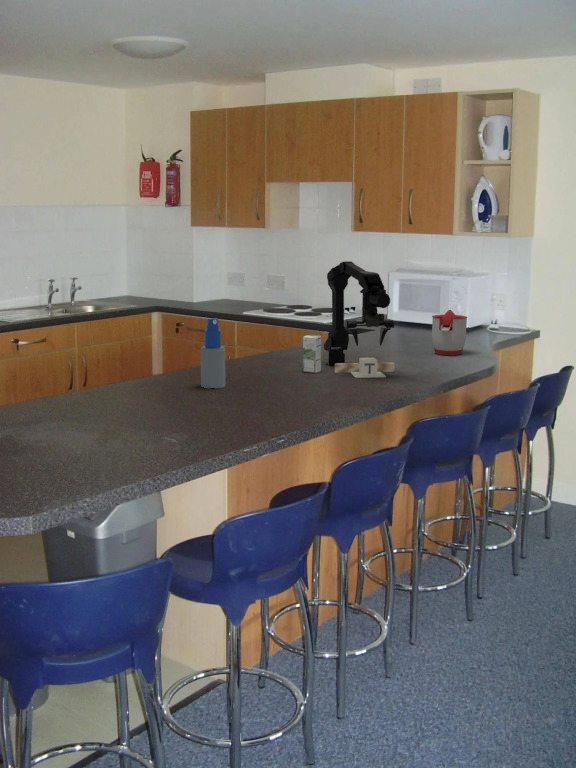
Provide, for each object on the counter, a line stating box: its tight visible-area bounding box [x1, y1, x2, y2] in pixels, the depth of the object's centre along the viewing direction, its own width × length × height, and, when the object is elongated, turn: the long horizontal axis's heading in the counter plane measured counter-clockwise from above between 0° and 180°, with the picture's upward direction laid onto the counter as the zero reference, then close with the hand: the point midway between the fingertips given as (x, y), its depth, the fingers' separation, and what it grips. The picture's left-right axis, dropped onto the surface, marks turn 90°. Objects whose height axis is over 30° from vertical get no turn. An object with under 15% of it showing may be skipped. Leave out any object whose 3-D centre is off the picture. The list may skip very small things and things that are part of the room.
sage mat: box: [350, 372, 387, 379], centre depth 344 cm, size 12×10×1 cm
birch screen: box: [334, 362, 396, 374], centre depth 351 cm, size 24×2×4 cm, turn 96°
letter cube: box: [358, 357, 378, 376], centre depth 343 cm, size 6×6×6 cm
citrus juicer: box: [431, 309, 468, 357], centre depth 393 cm, size 16×17×20 cm
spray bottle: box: [200, 317, 226, 389], centre depth 319 cm, size 9×9×25 cm
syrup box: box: [302, 334, 322, 374], centre depth 350 cm, size 6×6×14 cm
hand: (368, 345), depth 342 cm, fingers open, 9 cm apart
